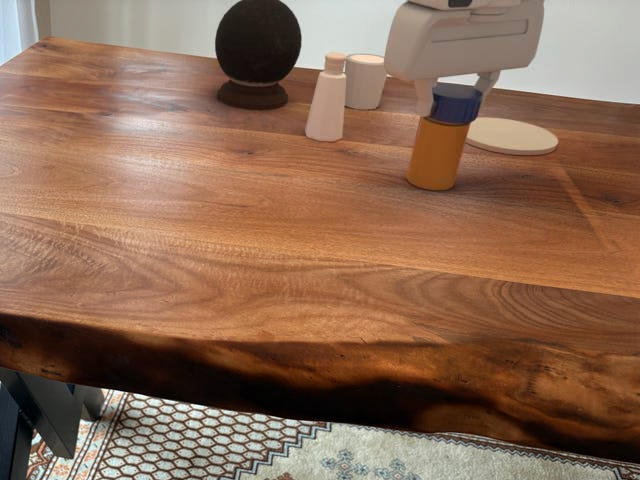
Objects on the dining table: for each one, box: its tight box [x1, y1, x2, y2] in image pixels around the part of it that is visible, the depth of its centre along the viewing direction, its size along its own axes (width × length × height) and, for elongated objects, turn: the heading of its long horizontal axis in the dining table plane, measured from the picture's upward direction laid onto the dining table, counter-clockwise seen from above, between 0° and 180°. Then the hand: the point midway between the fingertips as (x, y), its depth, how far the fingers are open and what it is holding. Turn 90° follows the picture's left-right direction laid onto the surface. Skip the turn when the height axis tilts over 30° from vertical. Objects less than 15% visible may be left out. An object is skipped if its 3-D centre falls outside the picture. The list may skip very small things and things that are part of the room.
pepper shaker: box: [304, 52, 347, 143], centre depth 106 cm, size 5×5×11 cm
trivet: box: [465, 117, 559, 156], centre depth 111 cm, size 14×14×1 cm
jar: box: [405, 115, 471, 191], centre depth 93 cm, size 6×6×10 cm
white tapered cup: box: [344, 53, 388, 111], centre depth 120 cm, size 7×7×7 cm
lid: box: [428, 83, 482, 123], centre depth 90 cm, size 6×6×3 cm
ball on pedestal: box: [214, 0, 303, 111], centre depth 118 cm, size 13×13×15 cm
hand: (448, 111), depth 90 cm, fingers closed on lid, 6 cm apart
